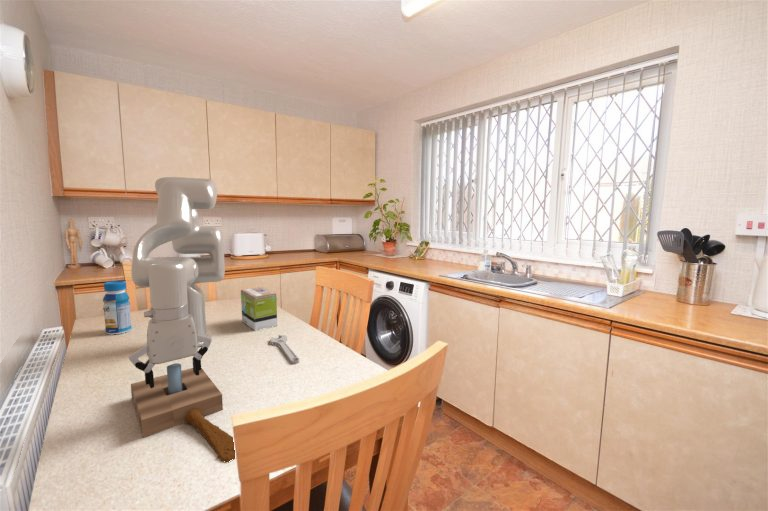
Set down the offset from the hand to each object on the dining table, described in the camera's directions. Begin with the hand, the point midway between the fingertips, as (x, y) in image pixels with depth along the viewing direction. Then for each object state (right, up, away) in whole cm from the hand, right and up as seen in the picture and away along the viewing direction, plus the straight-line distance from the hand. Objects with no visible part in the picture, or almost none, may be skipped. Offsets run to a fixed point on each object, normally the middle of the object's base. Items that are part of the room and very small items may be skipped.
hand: (174, 379), depth 84 cm
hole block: (0, -6, +1) cm, 6 cm away
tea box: (-2, +1, +62) cm, 62 cm away
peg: (0, -6, +1) cm, 6 cm away
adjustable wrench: (+17, -3, +35) cm, 39 cm away
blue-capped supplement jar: (-53, 0, +50) cm, 73 cm away
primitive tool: (+16, -9, -11) cm, 21 cm away
